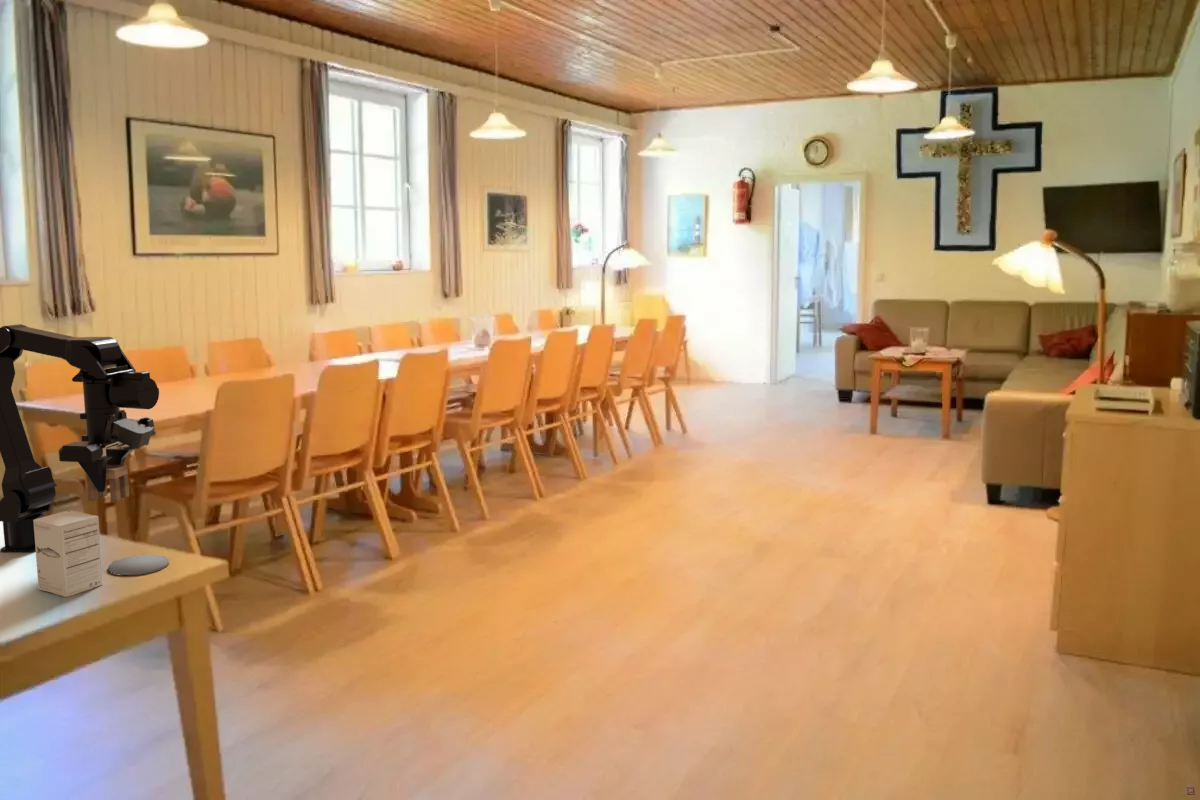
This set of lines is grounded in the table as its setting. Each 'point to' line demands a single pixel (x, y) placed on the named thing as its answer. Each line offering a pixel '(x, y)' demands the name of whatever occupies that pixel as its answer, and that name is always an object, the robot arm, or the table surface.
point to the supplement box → (68, 552)
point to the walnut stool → (111, 484)
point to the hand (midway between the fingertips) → (108, 489)
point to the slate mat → (139, 564)
